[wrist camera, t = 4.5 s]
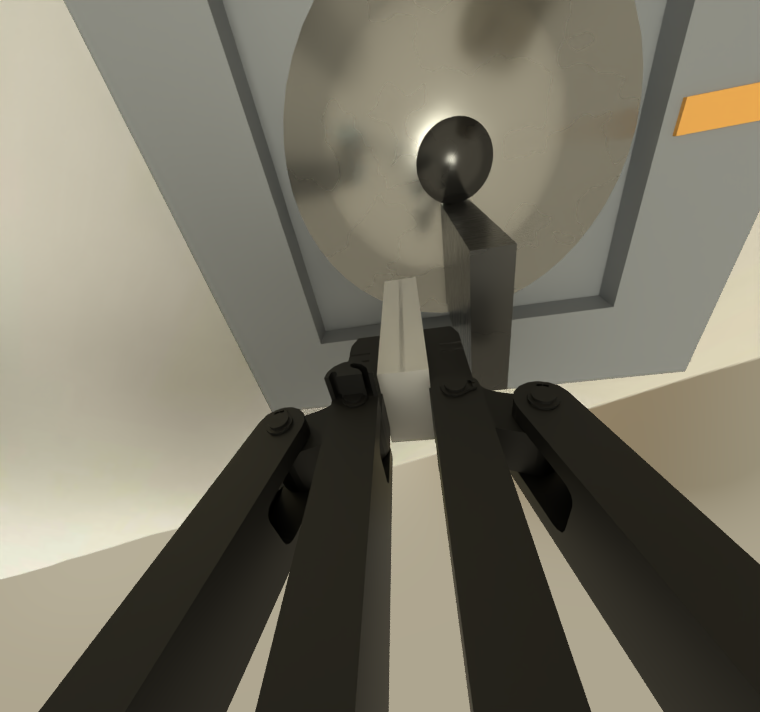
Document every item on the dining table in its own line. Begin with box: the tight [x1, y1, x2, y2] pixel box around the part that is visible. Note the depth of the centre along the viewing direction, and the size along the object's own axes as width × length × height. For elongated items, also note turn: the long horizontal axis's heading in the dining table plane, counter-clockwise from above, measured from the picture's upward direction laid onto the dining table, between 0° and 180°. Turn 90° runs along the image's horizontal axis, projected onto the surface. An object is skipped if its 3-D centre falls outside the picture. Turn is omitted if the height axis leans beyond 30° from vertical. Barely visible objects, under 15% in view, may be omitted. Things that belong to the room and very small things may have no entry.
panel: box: [64, 0, 760, 412], centre depth 14 cm, size 26×26×3 cm
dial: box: [283, 0, 643, 391], centre depth 11 cm, size 14×14×8 cm
